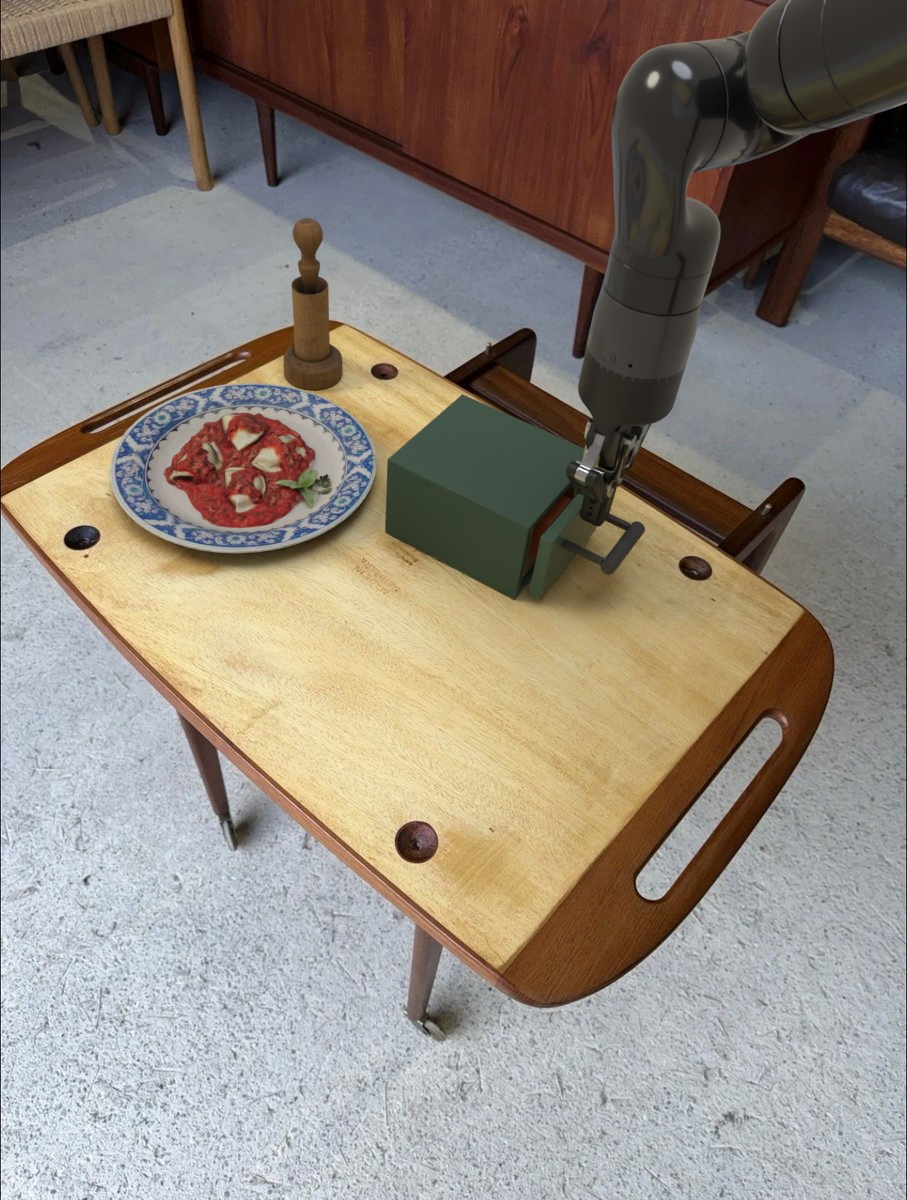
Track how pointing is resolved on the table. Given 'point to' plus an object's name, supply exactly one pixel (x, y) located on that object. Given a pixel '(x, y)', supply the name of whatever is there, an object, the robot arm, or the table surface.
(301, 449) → the ceramic plate
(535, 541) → the block
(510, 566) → the cabinet
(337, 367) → the mortar and pestle
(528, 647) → the table surface
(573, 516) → the drawer
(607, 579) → the table surface
